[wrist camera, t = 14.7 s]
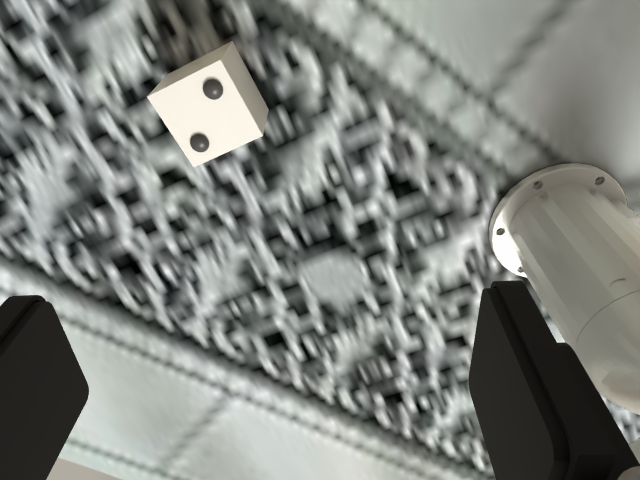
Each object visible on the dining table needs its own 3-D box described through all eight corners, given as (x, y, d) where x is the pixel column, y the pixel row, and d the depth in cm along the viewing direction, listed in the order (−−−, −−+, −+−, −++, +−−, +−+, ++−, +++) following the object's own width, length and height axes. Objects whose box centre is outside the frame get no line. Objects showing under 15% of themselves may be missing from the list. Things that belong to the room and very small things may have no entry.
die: (232, 40, 38) (220, 60, 33) (268, 108, 41) (262, 136, 36) (167, 73, 40) (146, 97, 34) (207, 137, 43) (193, 168, 37)
